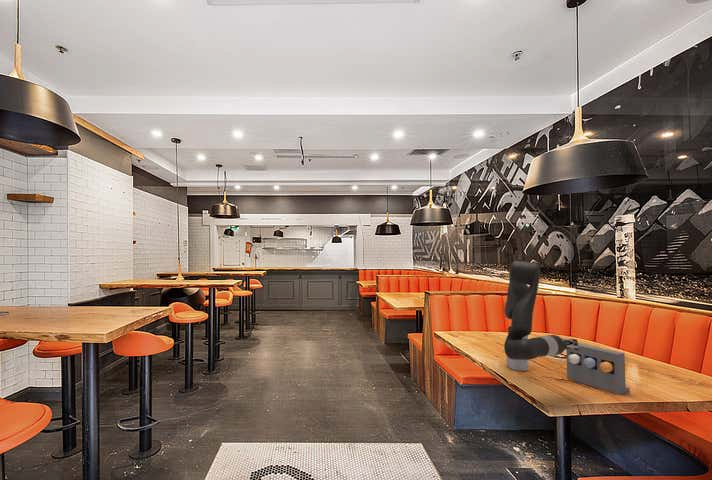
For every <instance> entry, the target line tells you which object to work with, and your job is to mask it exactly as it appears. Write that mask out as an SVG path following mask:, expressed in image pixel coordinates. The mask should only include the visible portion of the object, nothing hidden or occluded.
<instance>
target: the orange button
mask: <svg viewBox="0 0 712 480" xmlns="http://www.w3.org/2000/svg"><path fill="white" fill-rule="evenodd" d="M600 369H601V370H602V371H603V372H606V373H607V372H611V371H613V370H614V365H613V364H612V363H611V362H609V361H607V362H602V363H601V364H600Z"/></svg>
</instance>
